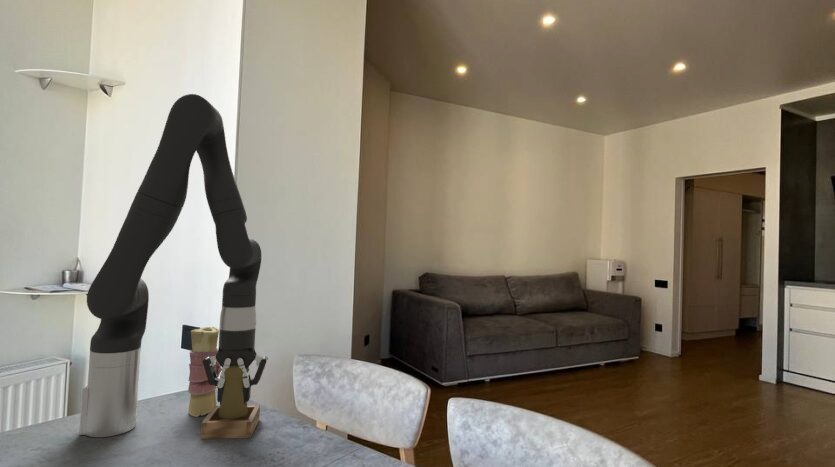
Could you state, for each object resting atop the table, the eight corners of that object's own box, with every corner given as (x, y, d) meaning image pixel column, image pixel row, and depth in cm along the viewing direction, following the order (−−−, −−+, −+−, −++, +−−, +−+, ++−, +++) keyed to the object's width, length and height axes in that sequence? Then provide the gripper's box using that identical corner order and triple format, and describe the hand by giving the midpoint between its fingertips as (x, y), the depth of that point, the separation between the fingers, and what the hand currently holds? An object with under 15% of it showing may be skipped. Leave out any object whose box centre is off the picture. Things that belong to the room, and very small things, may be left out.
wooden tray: (200, 438, 94) (201, 422, 94) (214, 420, 104) (215, 405, 104) (250, 437, 95) (251, 421, 95) (259, 419, 105) (260, 405, 105)
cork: (229, 420, 95) (232, 368, 96) (212, 414, 99) (215, 363, 99) (253, 412, 101) (255, 363, 101) (236, 406, 104) (239, 358, 104)
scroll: (226, 407, 112) (231, 326, 113) (209, 418, 105) (215, 332, 105) (197, 404, 113) (202, 325, 114) (179, 415, 105) (184, 330, 106)
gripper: (198, 329, 95) (194, 410, 95) (268, 329, 98) (264, 408, 97) (208, 323, 103) (204, 398, 102) (273, 323, 105) (269, 397, 105)
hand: (233, 403), depth 100 cm, fingers closed on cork, 4 cm apart
